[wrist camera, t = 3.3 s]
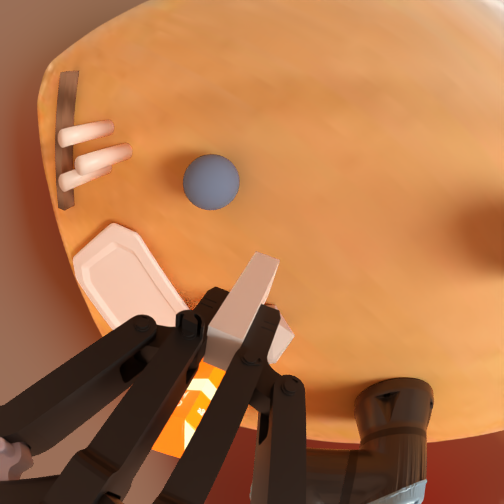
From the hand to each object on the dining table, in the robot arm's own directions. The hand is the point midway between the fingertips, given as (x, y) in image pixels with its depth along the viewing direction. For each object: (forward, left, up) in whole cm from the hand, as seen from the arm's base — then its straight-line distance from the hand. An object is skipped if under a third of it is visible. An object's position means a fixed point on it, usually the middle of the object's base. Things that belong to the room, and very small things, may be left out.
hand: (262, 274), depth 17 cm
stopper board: (0, +38, -16) cm, 41 cm away
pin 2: (-3, +28, -16) cm, 33 cm away
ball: (0, +9, -13) cm, 16 cm away
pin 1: (+3, +28, -16) cm, 33 cm away
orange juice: (-36, +5, -16) cm, 40 cm away
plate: (-26, +23, -16) cm, 39 cm away
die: (-18, -1, -16) cm, 24 cm away
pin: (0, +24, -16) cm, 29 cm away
